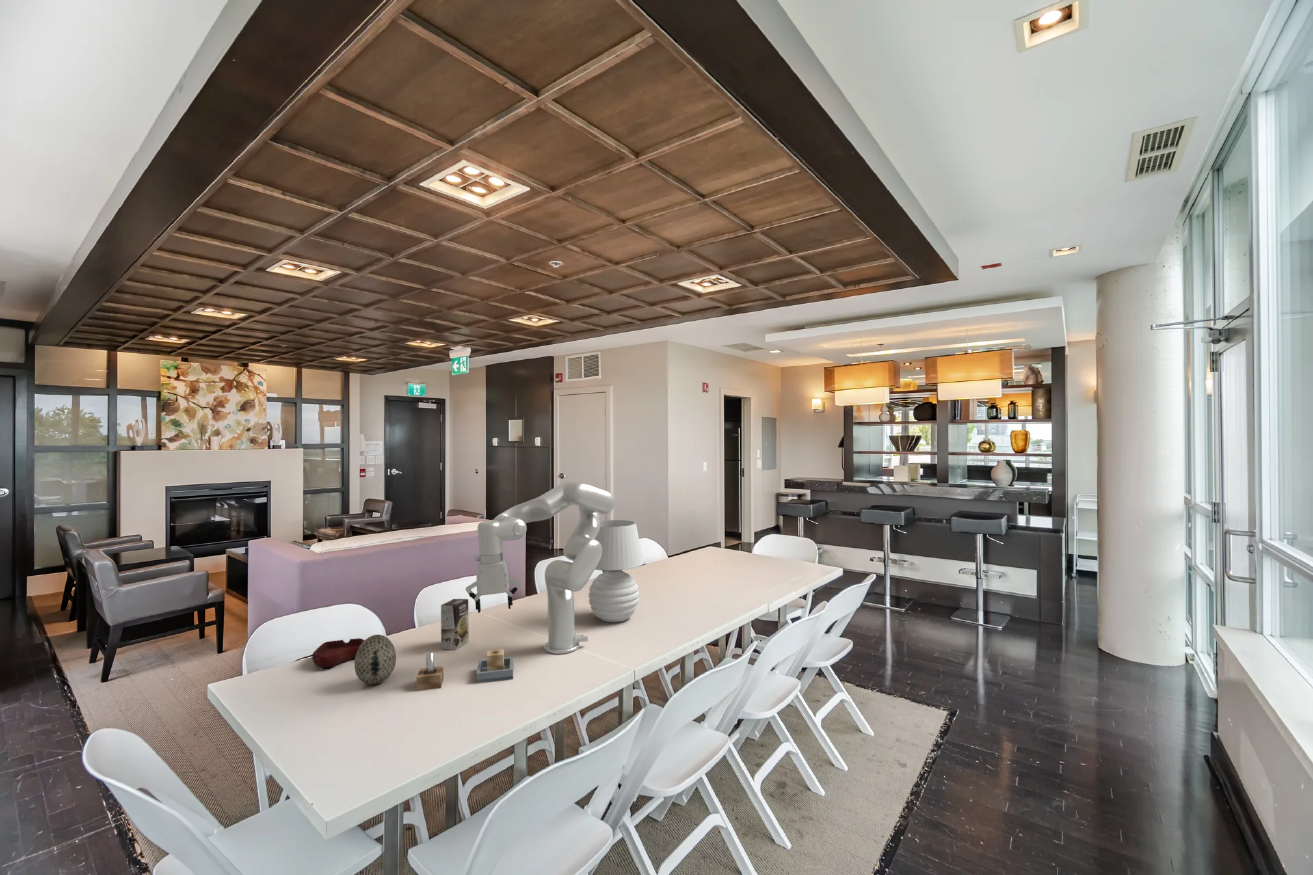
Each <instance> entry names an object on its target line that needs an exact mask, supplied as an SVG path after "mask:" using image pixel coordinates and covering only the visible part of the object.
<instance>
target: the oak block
mask: <svg viewBox="0 0 1313 875" xmlns="http://www.w3.org/2000/svg"><path fill="white" fill-rule="evenodd" d="M504 658H505V649H504V648H501V649H491V650H487V655H486V660H487V671H494V670H503V669H504Z"/></svg>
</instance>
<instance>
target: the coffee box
mask: <svg viewBox="0 0 1313 875" xmlns="http://www.w3.org/2000/svg"><path fill="white" fill-rule="evenodd" d="M469 617H470V616H469V599H468V598H453V599H451V600H448V601H446V602H445V603H442V604H441V605H440V632H441V633H440V639H441V640H440V641H441V642H440V645H441V646H440V648H441V649H443V650H451V651H453V650H454V651H455V650H458V649H460V648H461V647H464V645H466V644H467V643H469V641H470V637H469V636H470V628H469V627H470V626H469V623H470V621H469Z"/></svg>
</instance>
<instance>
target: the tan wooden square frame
mask: <svg viewBox="0 0 1313 875" xmlns="http://www.w3.org/2000/svg"><path fill="white" fill-rule="evenodd" d="M417 672H418V673H417V675H416V680H415V681H416V682H415V684H416V691H418V692H419V691H425V690H434V689H442V686H443V682H444V679H445V678H444V677H445V674H444V672H445V669H444V665H440V666H434V674H427V671H426V667H422V668H419V670H418V671H417Z"/></svg>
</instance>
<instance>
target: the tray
mask: <svg viewBox="0 0 1313 875" xmlns="http://www.w3.org/2000/svg"><path fill="white" fill-rule="evenodd" d="M508 680H514V657H513V656H508V657H504V669H503V670H494V671H487V659H480V660H478V664H477V670H476V684H480V683H481V684H482V683H490V682H491V683H493V682H499V681H508Z"/></svg>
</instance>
